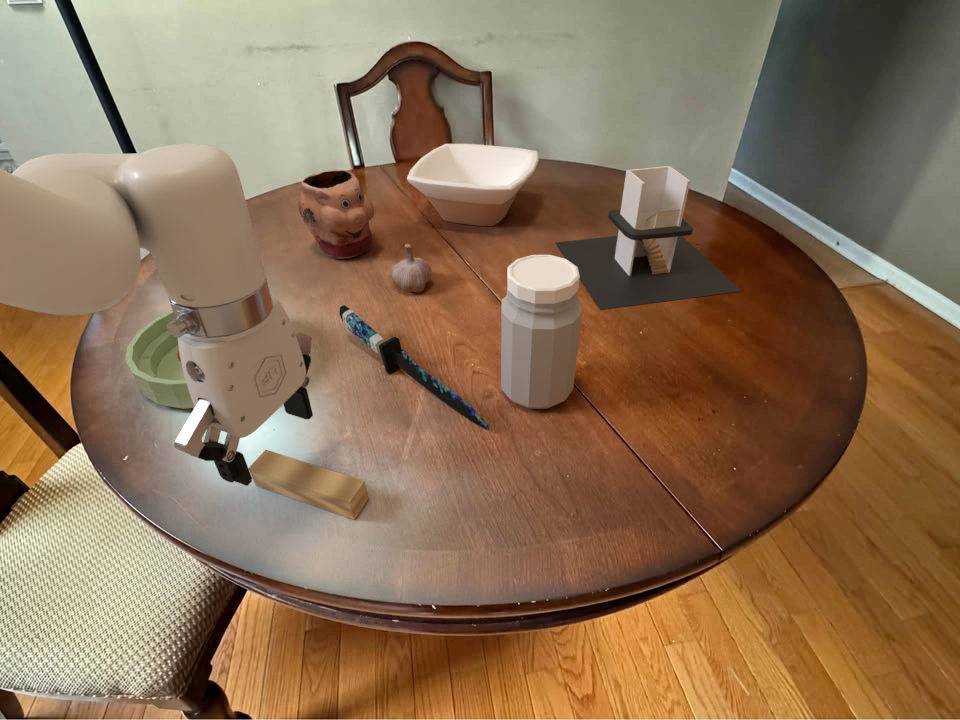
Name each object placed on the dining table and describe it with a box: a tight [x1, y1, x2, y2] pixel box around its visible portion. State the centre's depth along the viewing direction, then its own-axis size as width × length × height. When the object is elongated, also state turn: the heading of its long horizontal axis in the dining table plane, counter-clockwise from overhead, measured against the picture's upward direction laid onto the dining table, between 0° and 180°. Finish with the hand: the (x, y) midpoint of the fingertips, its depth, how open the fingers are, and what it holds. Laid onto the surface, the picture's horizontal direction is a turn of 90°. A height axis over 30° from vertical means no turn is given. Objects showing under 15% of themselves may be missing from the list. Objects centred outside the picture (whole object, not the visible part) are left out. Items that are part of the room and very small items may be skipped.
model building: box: [554, 165, 743, 310], centre depth 95 cm, size 25×24×16 cm
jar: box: [500, 254, 583, 410], centre depth 69 cm, size 10×10×18 cm
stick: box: [248, 449, 370, 521], centre depth 61 cm, size 13×3×3 cm, turn 68°
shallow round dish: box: [125, 309, 195, 409], centre depth 79 cm, size 21×21×5 cm
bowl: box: [406, 143, 540, 227], centre depth 116 cm, size 24×25×11 cm
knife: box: [339, 304, 491, 431], centre depth 75 cm, size 31×3×4 cm, turn 42°
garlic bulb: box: [389, 243, 433, 293], centre depth 94 cm, size 8×7×8 cm
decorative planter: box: [298, 169, 375, 260], centre depth 104 cm, size 20×12×14 cm, turn 48°
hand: (270, 445), depth 57 cm, fingers open, 9 cm apart
